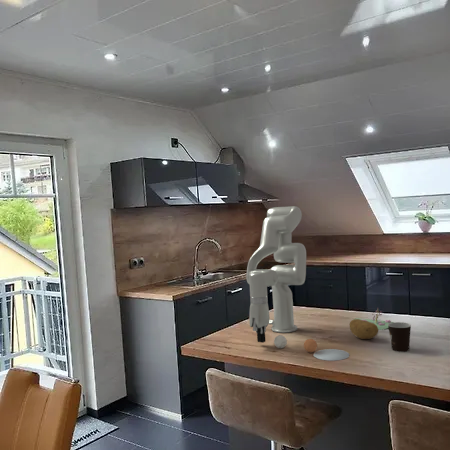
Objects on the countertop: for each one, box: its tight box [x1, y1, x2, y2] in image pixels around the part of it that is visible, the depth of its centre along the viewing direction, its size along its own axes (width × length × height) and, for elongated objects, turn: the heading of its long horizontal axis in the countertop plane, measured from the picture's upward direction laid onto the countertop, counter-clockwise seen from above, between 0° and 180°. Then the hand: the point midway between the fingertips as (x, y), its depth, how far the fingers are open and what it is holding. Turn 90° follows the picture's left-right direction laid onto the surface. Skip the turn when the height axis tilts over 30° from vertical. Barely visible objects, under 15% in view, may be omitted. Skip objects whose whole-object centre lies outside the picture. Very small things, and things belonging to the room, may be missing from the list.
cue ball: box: [273, 334, 288, 349], centre depth 204 cm, size 5×5×5 cm
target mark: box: [313, 348, 350, 362], centre depth 191 cm, size 14×14×1 cm
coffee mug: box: [387, 321, 412, 353], centre depth 193 cm, size 12×9×10 cm
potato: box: [349, 318, 379, 340], centre depth 210 cm, size 10×14×8 cm
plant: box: [352, 307, 394, 331], centre depth 235 cm, size 25×21×9 cm
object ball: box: [303, 338, 318, 353], centre depth 196 cm, size 5×5×5 cm
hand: (261, 341), depth 210 cm, fingers closed
